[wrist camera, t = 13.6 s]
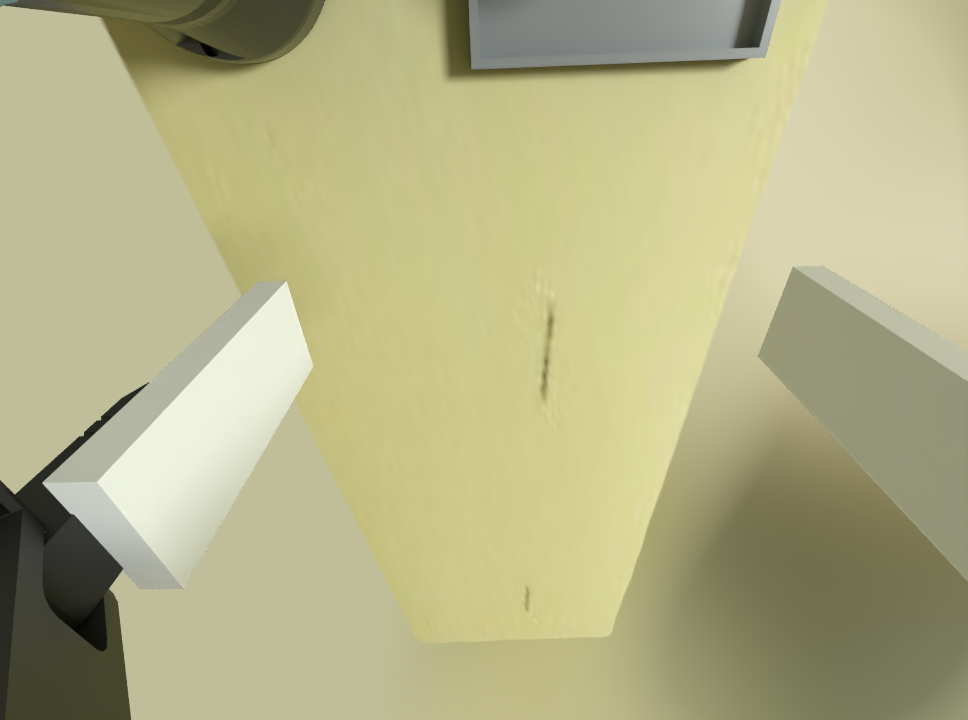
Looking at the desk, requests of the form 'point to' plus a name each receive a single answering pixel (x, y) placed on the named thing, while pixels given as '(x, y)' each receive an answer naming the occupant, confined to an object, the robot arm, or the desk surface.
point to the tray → (616, 31)
